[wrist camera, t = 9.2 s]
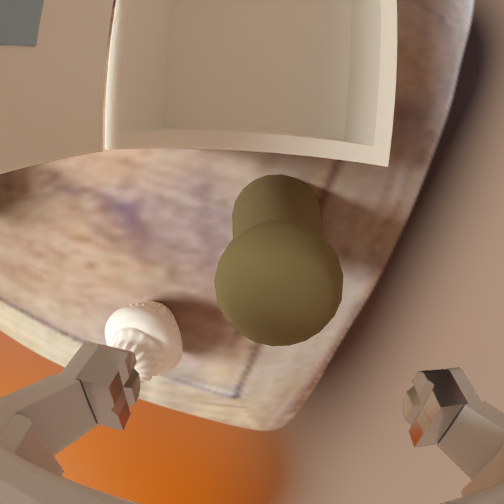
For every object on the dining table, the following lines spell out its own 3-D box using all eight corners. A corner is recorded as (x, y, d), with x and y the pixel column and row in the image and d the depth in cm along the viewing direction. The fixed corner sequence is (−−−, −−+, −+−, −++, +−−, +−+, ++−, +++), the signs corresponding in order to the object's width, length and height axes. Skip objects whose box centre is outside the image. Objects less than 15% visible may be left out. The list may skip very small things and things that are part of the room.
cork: (253, 159, 20) (232, 197, 10) (337, 197, 21) (392, 269, 11) (219, 240, 22) (177, 336, 12) (297, 272, 23) (312, 384, 13)
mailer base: (175, -59, 14) (143, -107, 7) (358, -52, 13) (385, -101, 7) (154, 139, 20) (105, 149, 14) (352, 152, 20) (388, 166, 13)
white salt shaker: (173, 357, 27) (150, 415, 21) (113, 321, 26) (78, 373, 20) (205, 311, 25) (185, 372, 18) (138, 269, 24) (98, 320, 17)
